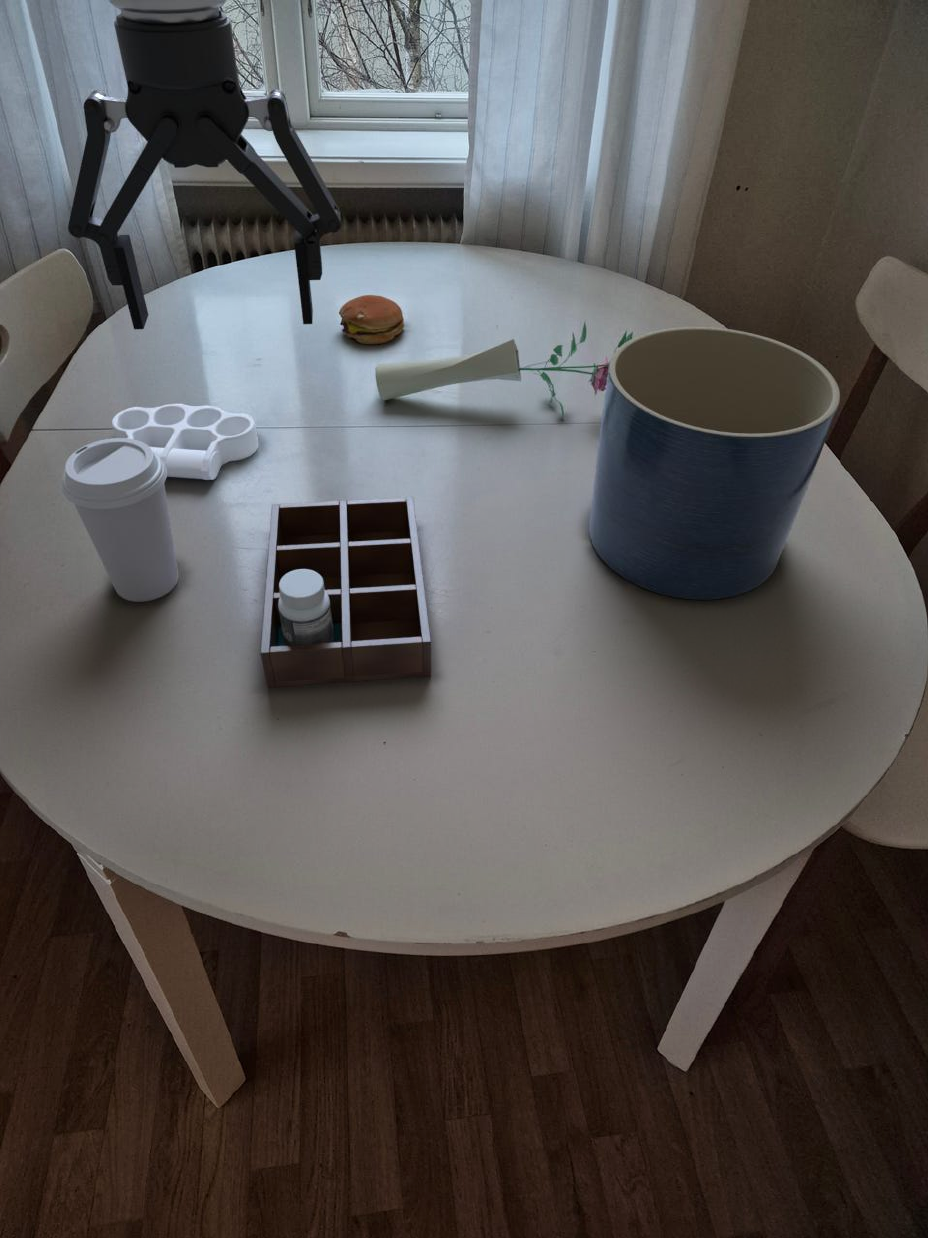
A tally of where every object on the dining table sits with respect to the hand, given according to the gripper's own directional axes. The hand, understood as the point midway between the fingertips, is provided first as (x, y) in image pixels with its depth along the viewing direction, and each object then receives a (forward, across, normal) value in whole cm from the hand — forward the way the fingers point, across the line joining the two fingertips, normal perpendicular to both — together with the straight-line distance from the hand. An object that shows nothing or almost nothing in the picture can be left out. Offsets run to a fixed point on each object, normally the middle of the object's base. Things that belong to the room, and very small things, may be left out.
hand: (225, 320), depth 72 cm
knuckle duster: (+29, +12, -26) cm, 41 cm away
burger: (+29, -13, -58) cm, 66 cm away
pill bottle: (+28, -4, +11) cm, 31 cm away
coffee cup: (+29, +13, -1) cm, 32 cm away
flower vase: (+29, -30, -34) cm, 54 cm away
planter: (+29, -46, -3) cm, 54 cm away
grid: (+29, -8, +4) cm, 30 cm away
